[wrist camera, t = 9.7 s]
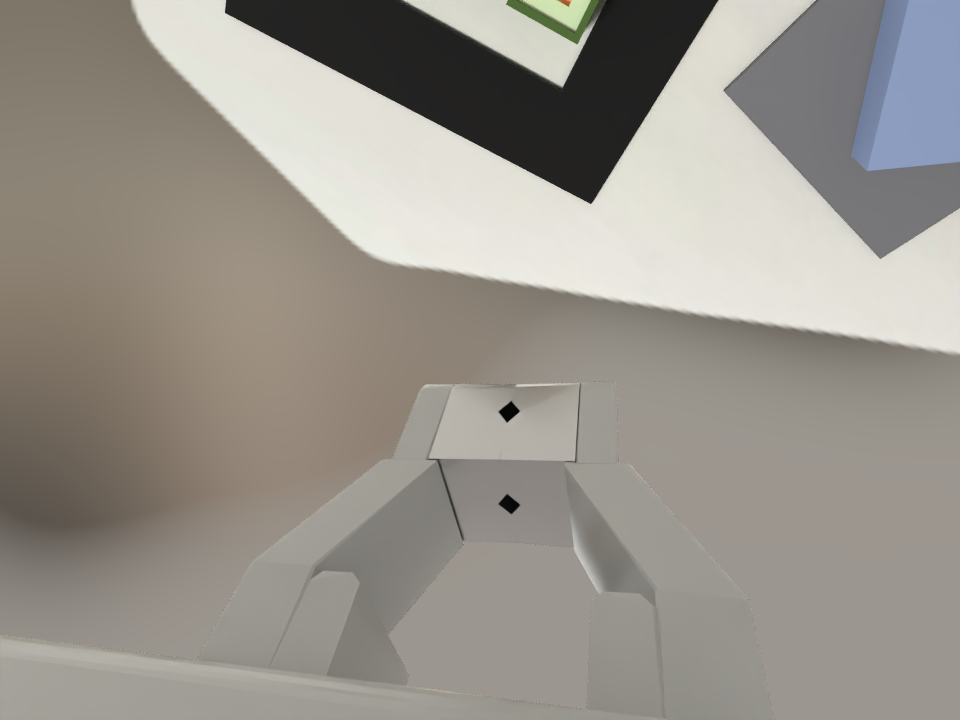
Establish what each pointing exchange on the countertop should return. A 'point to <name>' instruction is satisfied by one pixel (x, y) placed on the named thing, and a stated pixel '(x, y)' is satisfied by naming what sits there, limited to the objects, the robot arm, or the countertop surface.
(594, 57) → the sushi
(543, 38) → the countertop surface
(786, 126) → the rubber mat
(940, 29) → the card deck
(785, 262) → the countertop surface
